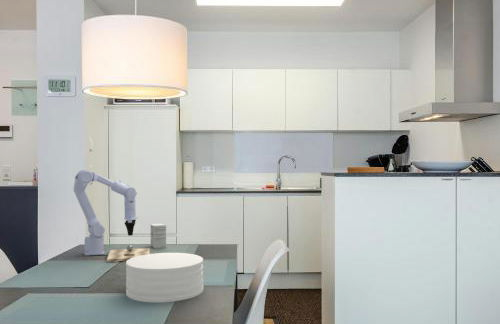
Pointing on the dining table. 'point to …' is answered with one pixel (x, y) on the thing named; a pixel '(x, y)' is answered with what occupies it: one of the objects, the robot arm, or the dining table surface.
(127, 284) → the plate stack
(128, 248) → the steel ball
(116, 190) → the robot arm
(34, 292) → the dining table surface
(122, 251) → the birch board
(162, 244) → the supplement box
